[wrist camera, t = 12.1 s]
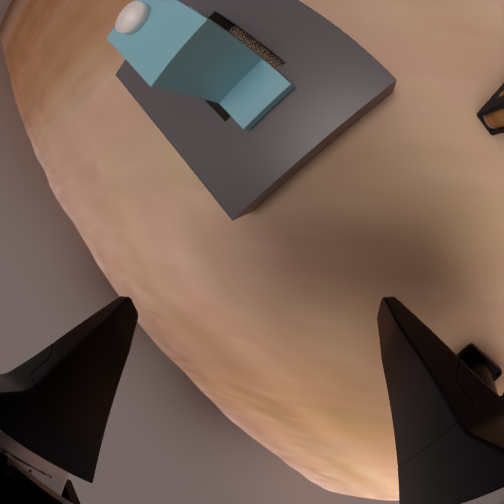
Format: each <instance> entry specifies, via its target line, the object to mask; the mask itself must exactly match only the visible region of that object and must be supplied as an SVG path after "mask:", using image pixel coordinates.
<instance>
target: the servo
mask: <svg viewBox="0 0 504 504" xmlns="http://www.w3.org/2000/svg"><path fill="white" fill-rule="evenodd" d="M107 40H108V41H109V42H110V43H111V44H112V45H113V46H114V47H115V48H116V49H117V50H118V51H119V52H120V54H121V55H122V56H123V57H124V58H125V59H126V60H127V61H128V62H129V63H130V65H131V66H132V67H133V68H134V69H135V70H136V71H137V72H138V73H139V74H140V76H141V77H142V78H143V79H144V80H145V81H146V82H147V83H148V85H149V86H150V87H153V88H158V89H163V90H168V91H172V92H177V93H181V94H185V95H189V96H193V97H197V98H201V99H205V100H209V101H212V102H216V103H219V104H220V105H221V106H222V107H223V108H224V109H225V110H226V111H227V112H228V113H229V114H230V116H231V117H232V118H233V119H234V120H235V121H236V122H237V123H238V124H239V125H240V126H241V127H242V128H243V129H244V130H250V129H251V128H252V127H253V126H254V125H255V124H256V123H257V122H258V121H259V120H260V119H261V118H262V117H263V116H264V115H265V114H266V113H267V112H268V111H269V110H270V109H271V108H273V107H274V106H275V105H276V104H277V103H278V102H279V101H280V100H281V99H282V98H283V97H284V96H286V95H287V94H288V93H289V92H290V91H291V90H292V89H293V88H294V86H293V85H292V84H291V83H290V82H288V81H287V80H286V79H285V78H284V77H283V76H282V75H281V74H280V73H279V72H277V70H276V69H275V68H274V67H272V66H271V65H270V64H269V63H268V62H267V61H265V60H264V59H263V58H262V57H261V56H259V55H258V54H257V53H256V52H254V51H253V50H252V49H251V48H249V47H248V46H247V45H246V44H244V43H243V42H242V41H240V40H239V39H238V38H237V37H235V36H234V35H232V34H231V33H230V32H228V31H227V30H225V29H224V28H222V27H221V26H220V25H218V24H217V23H215V22H214V21H212V20H211V19H209V18H208V17H206V16H205V15H203V14H201V13H200V12H198V11H197V10H195V9H193V8H192V7H190V6H188V5H186V4H184V3H182V2H181V1H179V0H135V1H133V2H131V3H129V4H128V5H127V6H126V7H125V8H124V9H123V10H122V11H121V12H120V14H119V16H118V18H117V20H116V24H115V27H114V29H113V30H112V31H111V33H110V34H109V36H108V37H107Z"/></svg>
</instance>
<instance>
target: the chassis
mask: <svg viewBox="0 0 504 504" xmlns="http://www.w3.org/2000/svg"><path fill="white" fill-rule="evenodd" d="M179 1H181V2H182V3H184V4H186V5H188V6H190V7H192V8H193V9H195V10H197V11H198V12H200V13H201V14H203V15H205V16H206V17H208V18H209V19H211V20H212V21H214V22H215V23H217V24H218V25H220V26H221V27H222V28H224V29H225V30H227V31H228V30H229V29H230V28H231V27H232V26H233V25H235V26H236V27H238V28H239V29H241V30H242V31H243V32H245V33H246V34H248V35H249V36H250V37H252V38H253V39H254V40H256V41H257V42H258V43H260V44H261V45H262V46H264V47H265V48H266V49H267V50H269V51H270V52H271V53H272V54H274V55H275V56H276V57H277V58H278V59H280V60H281V61H282V62H283V63H284V65H283V66H281V67H280V68H279V69H278V70H277V72H279V73H280V74H281V75H282V76H283V77H284V78H285V79H286V80H287V81H288V82H290V83H291V84H292V85H293V86H294V88H293V89H292V90H291V91H290V92H289V93H288V94H287V95H286V96H284V97H283V98H282V99H281V100H280V101H279V102H278V103H277V104H276V105H275V106H274V107H273V108H271V109H270V110H269V111H268V112H267V113H266V114H265V115H264V116H263V117H262V118H261V119H260V120H259V121H258V122H257V123H256V124H255V125H254V126H253V127H252V128H251V129H250V130H244V129H243V128H242V127H241V126H240V125H239V124H238V123H237V122H236V121H235V120H234V119H233V118H232V117H231V116H230V114H229V113H228V112H227V111H226V110H225V109H224V108H223V107H222V106H221V105H220V104H219V103H216V102H212V101H209V100H205V99H201V98H197V97H193V96H189V95H185V94H181V93H177V92H172V91H168V90H163V89H158V88H153V87H150V86H149V85H148V83H147V82H146V81H145V80H144V79H143V78H142V77H141V76H140V74H139V73H138V72H137V71H136V70H135V69H134V68H133V67H132V66H131V65H130V63H129V62H128V61H127V60H126V59H125V61H124V62H123V64H122V66H121V67H120V69H119V70H118V72H117V73H116V76H117V77H118V78H119V80H120V81H121V82H122V83H123V85H124V86H125V87H126V88H127V90H128V91H129V92H130V93H131V95H132V96H133V97H134V98H135V99H136V101H137V102H138V103H139V104H140V106H141V107H142V108H143V109H144V111H145V112H146V113H147V114H148V116H149V117H150V118H151V119H152V121H153V122H154V123H155V124H156V126H157V127H158V128H159V129H160V131H161V132H162V133H163V134H164V136H165V137H166V138H167V139H168V141H169V142H170V143H171V144H172V145H173V147H174V148H175V149H176V150H177V152H178V153H179V154H180V155H181V157H182V158H183V159H184V160H185V162H186V163H187V164H188V165H189V167H190V168H191V169H192V170H193V172H194V173H195V174H196V175H197V177H198V178H199V179H200V180H201V182H202V183H203V184H204V186H205V187H206V188H207V189H208V191H209V192H210V193H211V194H212V196H213V197H214V198H215V199H216V201H217V202H218V203H219V204H220V206H221V207H222V208H223V209H224V211H225V212H226V213H227V214H228V216H229V217H230V218H231V219H232V220H235V219H237V218H239V217H241V216H243V215H246V214H248V213H250V212H251V211H253V210H254V209H255V208H256V207H257V206H258V205H259V204H260V203H261V202H263V201H264V200H265V199H266V198H267V197H268V196H269V195H270V194H272V193H273V192H274V191H275V190H276V189H277V188H278V187H280V186H281V185H282V184H283V183H284V182H285V181H286V180H288V179H289V178H290V177H291V176H292V175H293V174H294V173H296V172H297V171H298V170H299V169H300V168H301V167H303V166H304V165H305V164H306V163H307V162H308V161H310V160H311V159H312V158H313V157H314V156H315V155H317V154H318V153H319V152H320V151H321V150H323V149H324V148H325V147H326V146H327V145H328V144H330V143H331V142H332V141H333V140H334V139H336V138H337V137H338V136H339V135H340V134H342V133H343V132H344V131H345V130H346V129H348V128H349V127H350V126H351V125H353V124H354V123H355V122H356V121H357V120H359V119H360V118H361V117H362V116H364V115H365V114H366V113H367V112H369V111H370V110H371V109H372V108H373V107H375V106H376V105H377V104H378V103H380V102H381V101H382V100H383V99H385V98H386V97H387V96H389V95H390V94H391V93H392V92H393V90H394V87H395V83H396V79H395V78H394V77H393V76H392V75H391V74H390V73H389V72H388V71H387V70H386V69H385V68H384V67H383V66H382V65H381V64H380V63H379V62H378V61H377V60H376V59H375V58H374V57H373V56H372V55H370V54H369V53H368V52H367V51H366V50H365V49H364V48H363V47H361V46H360V45H359V44H358V43H357V42H356V41H354V40H353V39H352V38H351V37H349V36H348V35H347V34H346V33H344V32H343V31H342V30H341V29H339V28H338V27H337V26H335V25H334V24H333V23H331V22H330V21H329V20H327V19H326V18H324V17H323V16H322V15H320V14H319V13H317V12H316V11H314V10H313V9H311V8H310V7H308V6H307V5H305V4H303V3H302V2H300V1H299V0H179Z"/></svg>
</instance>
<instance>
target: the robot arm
mask: <svg viewBox="0 0 504 504" xmlns="http://www.w3.org/2000/svg"><path fill="white" fill-rule="evenodd" d="M137 320H138V313H137V310H136V308H135V306H134V304H133V302H132V300H131V298H130V297H123V296H121V297H119V298H117V299H116V300H114V301H113V302H111V303H110V304H108V305H107V306H105V307H104V308H102V309H101V310H99V311H98V312H97V313H95V314H94V315H92V316H91V317H89V318H88V319H86V320H85V321H84V322H82V323H81V324H79V325H78V326H76V327H75V328H74V329H72V330H71V331H69V332H68V333H66V334H65V335H64V336H62V337H61V338H59V339H58V340H57V341H55V342H54V343H53V344H51V345H50V346H48V347H47V348H45V349H44V350H43V351H41V352H40V353H38V354H37V355H36V356H34V357H32V358H31V359H29V360H28V361H26V362H24V363H23V364H21V365H20V366H18V367H16V368H15V369H14V370H12V371H10V372H8V373H6V374H0V504H80V502H79V500H78V497H77V495H76V492H75V490H74V487H73V485H72V482H71V480H69V479H67V478H68V475H69V473H70V474H73V475H75V476H77V477H79V478H81V479H83V480H85V481H88V482H90V483H92V482H93V479H94V474H95V469H96V465H97V460H98V456H99V452H100V447H101V444H102V439H103V435H104V432H105V428H106V424H107V420H108V417H109V414H110V410H111V406H112V403H113V400H114V397H115V393H116V390H117V387H118V384H119V381H120V377H121V375H122V371H123V369H124V366H125V363H126V360H127V357H128V354H129V351H130V347H131V343H132V339H133V335H134V331H135V327H136V323H137ZM377 322H378V330H379V338H380V347H381V356H382V363H383V368H384V373H385V378H386V383H387V389H388V394H389V400H390V406H391V412H392V419H393V426H394V434H395V442H396V451H397V462H398V477H399V499H400V504H504V393H503V395H502V396H499V395H498V393H497V390H496V387H495V383H494V381H495V380H496V379H498V378H499V377H500V376H501V374H502V371H501V369H500V368H499V367H498V366H497V365H496V364H495V363H494V362H493V361H492V360H491V359H489V358H488V357H487V356H486V355H485V354H484V353H483V352H482V351H480V350H479V349H478V348H477V347H476V346H475V345H473V344H471V345H469V346H467V347H466V348H465V349H464V350H463V351H462V352H461V353H460V354H459V355H458V356H457V355H456V354H455V353H454V352H453V351H452V350H451V349H450V348H449V347H448V346H447V345H446V344H445V343H444V342H442V341H441V340H440V339H439V338H438V337H437V336H436V335H435V334H434V333H433V332H432V331H431V330H430V329H429V328H428V327H427V326H426V325H425V324H424V323H423V322H422V321H421V320H419V319H418V318H417V317H416V316H415V315H414V314H413V313H412V312H411V311H410V310H409V309H408V308H406V307H405V306H404V305H403V304H402V303H401V302H400V301H399V300H398V299H396V298H395V297H384V298H383V299H382V301H381V304H380V308H379V312H378V316H377ZM471 349H472V350H471ZM470 350H471V351H470Z"/></svg>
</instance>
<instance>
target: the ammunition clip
mask: <svg viewBox="0 0 504 504" xmlns="http://www.w3.org/2000/svg"><path fill="white" fill-rule="evenodd" d="M477 116H478V117H479V118H480V120H481V121H482V122H483V124H484V125H485V126H486V128H487V129H488V131H489V132H490V133H491V135H494V134H499V133H504V83H503V85H502V86H501V87H500V88H499V89H498V90H497V92H496V93H495V94H494V95H493V96H492V97H491V98H490V100H489V101H488V102H487V103H486V104H485V105H484V106H483V107H482V108H481V110H480V111H479V112H478V113H477Z"/></svg>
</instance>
